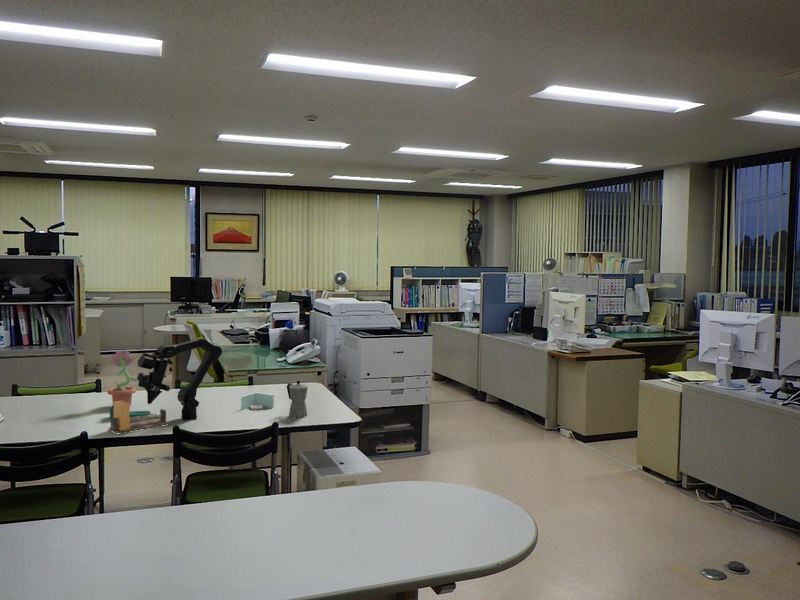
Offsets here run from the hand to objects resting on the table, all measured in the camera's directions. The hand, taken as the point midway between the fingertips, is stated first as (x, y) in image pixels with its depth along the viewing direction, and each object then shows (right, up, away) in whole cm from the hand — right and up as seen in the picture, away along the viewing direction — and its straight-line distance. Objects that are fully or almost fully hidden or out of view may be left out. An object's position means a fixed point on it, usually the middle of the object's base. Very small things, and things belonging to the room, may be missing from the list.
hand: (148, 403), depth 295 cm
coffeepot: (+65, -10, +25) cm, 71 cm away
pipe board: (-4, -11, -2) cm, 11 cm away
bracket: (-15, -9, +15) cm, 23 cm away
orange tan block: (-9, -10, -8) cm, 16 cm away
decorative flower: (-27, -7, +35) cm, 45 cm away
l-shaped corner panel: (+43, -9, +37) cm, 57 cm away
